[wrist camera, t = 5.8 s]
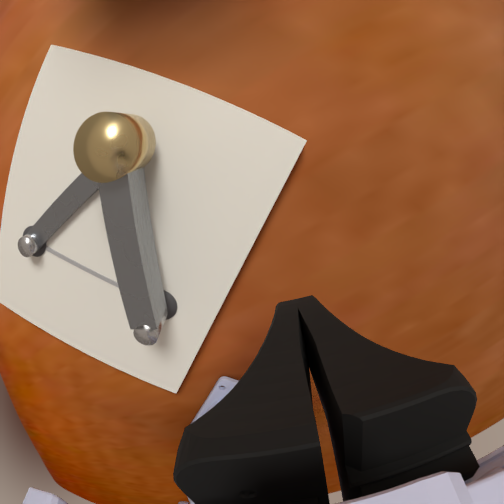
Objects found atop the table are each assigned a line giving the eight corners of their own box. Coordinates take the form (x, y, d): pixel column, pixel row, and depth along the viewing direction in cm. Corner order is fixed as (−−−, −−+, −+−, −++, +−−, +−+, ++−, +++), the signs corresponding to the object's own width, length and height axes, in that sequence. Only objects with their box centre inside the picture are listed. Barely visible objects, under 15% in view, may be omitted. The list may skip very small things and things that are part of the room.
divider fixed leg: (119, 140, 16) (110, 141, 15) (132, 159, 16) (124, 161, 15) (24, 238, 18) (14, 244, 17) (35, 254, 18) (26, 261, 17)
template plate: (178, 384, 23) (175, 399, 22) (3, 294, 21) (-7, 303, 19) (303, 140, 17) (308, 140, 16) (59, 47, 14) (46, 42, 13)
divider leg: (101, 120, 15) (70, 119, 12) (155, 109, 15) (132, 105, 12) (136, 319, 19) (119, 351, 16) (184, 318, 19) (173, 352, 16)
